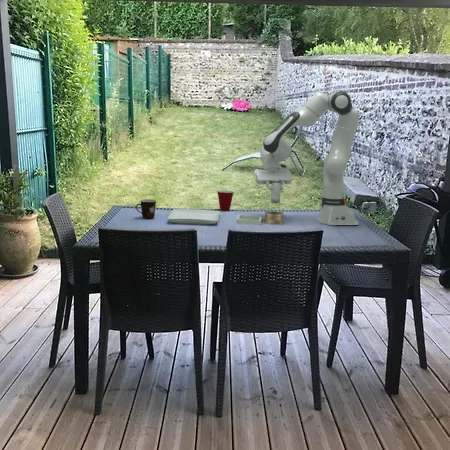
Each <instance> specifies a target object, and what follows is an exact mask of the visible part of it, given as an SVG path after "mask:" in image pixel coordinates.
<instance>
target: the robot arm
mask: <svg viewBox="0 0 450 450" xmlns="http://www.w3.org/2000/svg"><path fill="white" fill-rule="evenodd" d="M327 111H330V112H333V113H337V115H338V119H337V120H338V121H337V122H336V126H335V129H334V133H333V136H332V138H331V139H332V140H331V142H330V148H329V153H327V154H326V156H325V157H324V160H323V184H322V185H323V187H322V188H323V189H322V196H321V200H320V212H319V216H318V219H317V222H318V223H319V224H323V225H324V224H325V225H328V226H331V225H358V226H359V221H358V220H356V218H355V213H354V212H353V210H352V209H351V208H350V207H348V206H347V204H348V200H347V199H345V198H343V197H344V188H345V187H344V186H345V183H344V173H345V171H346V169H347V167H348V163H349V160H350V155H351V151H352V146H353V144H354V139H355V137H356V133H357V130H358V126H359V123H360V112H359V111H358V110H357V109H356V108H354V107H353V104H352V99H351V97H350V95H349V93H348V92H347V91H341V90H340V91H335V92H333V93H331V94H328V95H326V94H325V93H323V92H320V91H318V92H315V93H314V94H313V95H311V97H310V98H309V99H308V100H307V101H306V102H305V104H303V106H302V107H301V108H300V109H299V110H297V111H294V112H291V113H290V114H289V115H288V116H287V117H286V118H285V119H284V120H283V121H282V122H281V123H280V124H279V125H277V126H276V128H275V129H273V130H272V132H270V133H269V134H268V135H266V136H265V137H264V139H263V141H262V142H263V143H262V145H261V147H260V150H259V151H260V152H259V153H260V160H261V163H262V168H257V169H255V170H254V171H253V172H254V176H255V183H256V184H257V185H265V187H267V188H268V191H271V190H272V180H281V191H284V185H287V184H288V185H290V184H291V183H292V182H293V175H292V172H291V170H289V165H287V164H284V163H281V162H283V161H285V160H287V159H288V158H289V157H291V155H292V152H293V149H292V146H291V145H290V144H289V143H288V142H287V141H285V140H284V139H283V137H284V136H286V134H287V133H288V132H289V131H290V130H291V129H293V128H294V127H298V126H299V127H304V128H307V127H308V128H309V127H312V126H314V125H315V124H317V122H318V121H319V120H320V118H321V117H322V116H323V115H324V113H326V112H327Z"/></svg>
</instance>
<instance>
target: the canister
mask: <svg viewBox="0 0 450 450" xmlns="http://www.w3.org/2000/svg"><path fill="white" fill-rule="evenodd" d="M271 186H272V190H270V192H271V193H270V194H271V195H270V203H272V204H280V203H281V191H282V190H281V186H282V185H281V180H272V184H271Z"/></svg>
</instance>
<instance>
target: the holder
mask: <svg viewBox="0 0 450 450" xmlns="http://www.w3.org/2000/svg"><path fill="white" fill-rule="evenodd" d="M284 217H285V213H284V211H275V210H274V211H269V210H265V213H264V224H265V225H279V226H280V225H283V226H284Z"/></svg>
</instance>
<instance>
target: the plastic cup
mask: <svg viewBox="0 0 450 450" xmlns="http://www.w3.org/2000/svg"><path fill="white" fill-rule="evenodd" d="M216 193H217V196H218V205H219V209H220V210H219V211H222V210H223V212H229V211H230V210H231V206H232V202H233V196H234V193H235V191H233V190H216Z"/></svg>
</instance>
